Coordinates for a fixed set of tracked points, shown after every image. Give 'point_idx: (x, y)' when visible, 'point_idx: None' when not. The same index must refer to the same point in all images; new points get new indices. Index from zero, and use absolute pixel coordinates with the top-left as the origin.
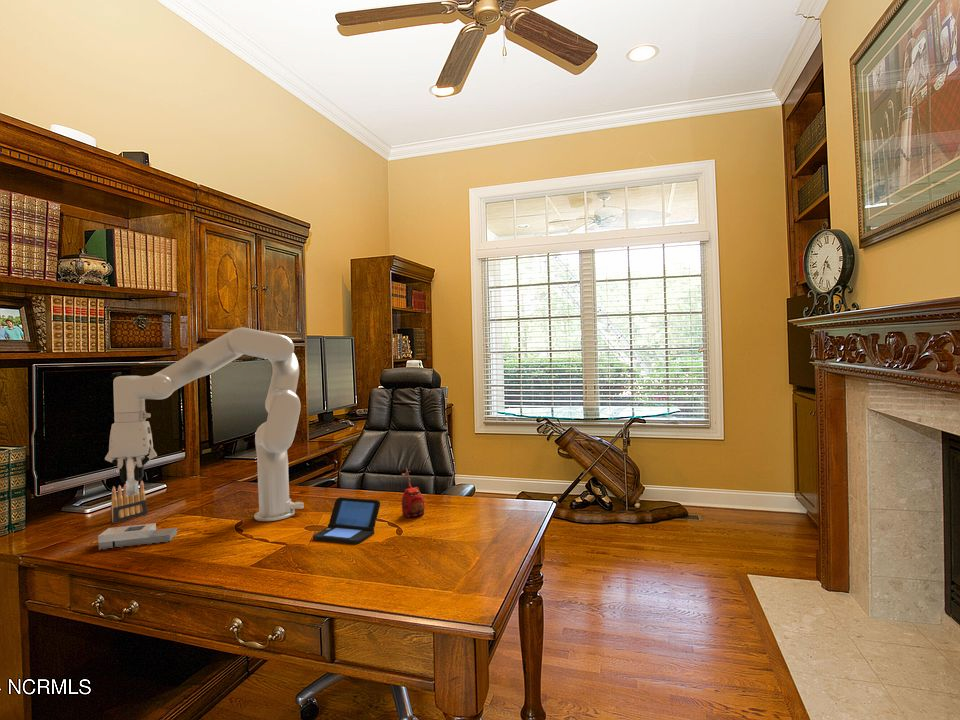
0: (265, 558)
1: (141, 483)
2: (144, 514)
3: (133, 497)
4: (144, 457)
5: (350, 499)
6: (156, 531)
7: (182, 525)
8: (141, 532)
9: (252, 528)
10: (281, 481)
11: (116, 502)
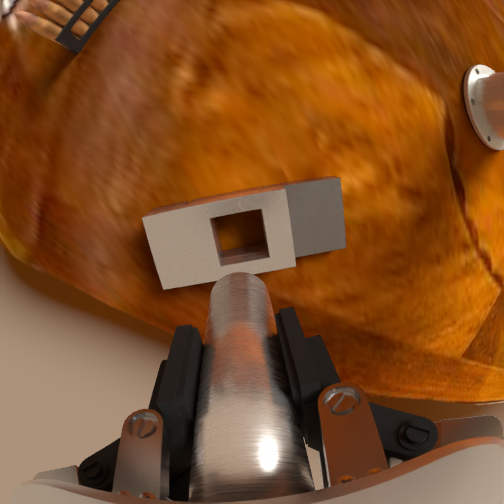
0: (477, 335)
1: None
2: None
3: None
4: (383, 451)
5: None
6: (292, 205)
7: (310, 89)
8: (278, 267)
9: (475, 184)
10: None
11: (52, 27)
